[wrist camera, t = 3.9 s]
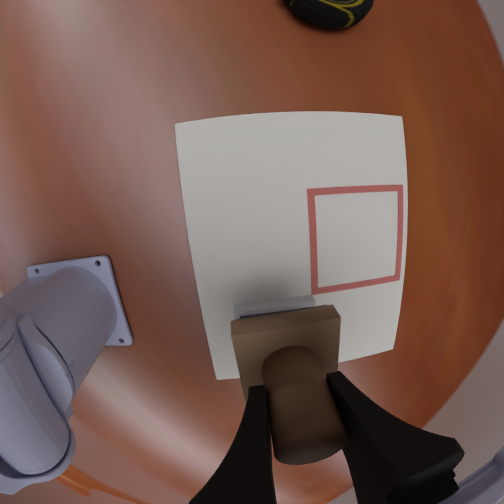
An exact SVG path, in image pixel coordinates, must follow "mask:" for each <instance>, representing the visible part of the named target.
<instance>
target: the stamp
mask: <svg viewBox="0 0 504 504" xmlns="http://www.w3.org/2000/svg"><path fill="white" fill-rule="evenodd" d="M340 327H341V316H340V315H339V313H338V312H337V310H336V309H335V307H334V305H333V304H332V305H327V304H326V305H321V306H316V307H310V308H304V309H299V310H293V311H287V312H281V313H274V314H268V315H261V316H254V317H247V318H240V319H235V320H233V321H231V339H232V343H233V348H234V352H235V357H236V362H237V366H238V370H239V375H240V379H241V384H242V388H243V392H244V396H245V401H246V403H247V398H248V388H249V387H250V386H257V385H264V386H265V392H266V399H267V406H268V417H269V423H270V430H271V436H272V443H273V449H274V456H275V458H276V459H277V460H278V461H279V462H281V463H284V464H290V465H302V464H309V463H313V462H317V461H320V460H323V459H325V458H328V457H330V456H332V455H334V454H335V453H337V452H338V451H339V450H341V449H342V448H343V447H344V446H345V444H346V443H347V440H348V436H347V433H346V431H345V428H344V425H343V423H342V420H341V417H340V415H339V412H338V410H337V407H336V404H335V402H334V399H333V397H332V394H331V392H330V389H329V386H328V384H327V381H326V374H327V373H332V372H336V371H337V369H338V357H339V344H340Z"/></svg>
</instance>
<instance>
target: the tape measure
mask: <svg viewBox="0 0 504 504" xmlns="http://www.w3.org/2000/svg"><path fill="white" fill-rule="evenodd" d="M285 1H286V3H287V5H288V6H289V8H290V9H291V10H292V12H293V13H294V14H296V15H297V16H298V17H300V18H302V19H303V20H305V21H307V22H309V23H312V24H314V25H317V26H321V27H325V28H333V29H338V28H339V29H346V28H349V27H352V26H354V25H356V24H357V23H359V22H360V21H361V20H362V19H363V18H364V17H365V16H366V15H367V14H368V12H369V11H370V9H371V7H372V6H373V1H374V0H285Z"/></svg>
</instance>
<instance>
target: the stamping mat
mask: <svg viewBox="0 0 504 504" xmlns="http://www.w3.org/2000/svg"><path fill="white" fill-rule="evenodd" d="M175 132H176V143H177V153H178V162H179V171H180V179H181V187H182V195H183V203H184V210H185V217H186V224H187V230H188V237H189V243H190V250H191V256H192V262H193V267H194V273H195V279H196V284H197V290H198V295H199V300H200V305H201V310H202V315H203V320H204V325H205V330H206V335H207V339H208V344H209V348H210V353H211V357H212V362H213V366H214V370H215V374H216V379H217V380H221V379H233V378H240V375H239V370H238V366H237V362H236V357H235V352H234V348H233V343H232V339H231V321H233V320H235V319H240V318H247V317H254V316H261V315H268V314H274V313H281V312H287V311H293V310H299V309H304V308H310V307H316V306H321V305H326V304H327V305H332V304H333V305H334V307H335V309H336V310H337V312H338V313H339V315H340V316H341V327H340V344H339V357H338V363H339V362H344V361H348V360H352V359H357V358H361V357H365V356H369V355H373V354H377V353H380V352H384V351H388V350H391V349H393V347H394V342H395V336H396V331H397V325H398V319H399V313H400V306H401V298H402V290H403V281H404V271H405V259H406V244H407V211H408V199H407V167H406V152H405V140H404V130H403V122H402V117H401V116H392V115H382V114H370V113H354V112H317V111H312V112H275V113H258V114H246V115H235V116H226V117H217V118H209V119H202V120H195V121H189V122H183V123H177V124H175Z"/></svg>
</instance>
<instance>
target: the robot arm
mask: <svg viewBox="0 0 504 504" xmlns="http://www.w3.org/2000/svg"><path fill="white" fill-rule="evenodd" d="M97 260H99V261H100V263H101V265H99V264H98V263H97ZM37 269H38V270H39V272H38V270H37ZM27 274H28V278H29V279H27V280H26V281H24V282H23V283H21V284H20V285H18V286H17V287H15V288H14V289H12V290H11V291H10V292H8V293H7V294H5V295H4V296H2V297H1V298H0V493H4V494H15V493H16V492H18V491H19V490H20V489H22V488H23V487H25V486H27V485H30V484H33V483H40V482H46V481H49V480H52V479H54V478H56V477H58V476H59V475H61V474H62V473H63V472H64V471H65V470H66V469H67V468H68V466H69V465H70V463H71V462H72V459H73V457H74V454H75V449H76V441H75V436H74V433H73V430H72V428H71V427H70V425H69V424H68V421H69V420H70V418H71V416H72V414H73V412H74V409H73V407H72V399H73V397H74V396H75V394H76V392H77V391H78V389H79V387H80V385H81V384H82V382H83V380H84V379H85V377H86V375H87V374H88V372H89V370H90V369H91V367H92V365H93V364H94V362H95V360H96V359H97V357H98V356H99V354H100V352H101V351H102V349H103V348H104V346H105V345H131V344H132V342H133V337H132V335H131V332H130V329H129V326H128V322H127V319H126V316H125V313H124V310H123V306H122V303H121V300H120V296H119V293H118V289H117V285H116V282H115V278H114V274H113V270H112V266H111V262H110V259H109V257H108V256H106V255H101V256H94V257H86V258H79V259H72V260H65V261H58V262H51V263H44V264H37V265H30V266H29V267H27ZM120 338H121V339H123V340H124V341H122V340H121V339H120ZM326 381H327V384H328V386H329V389H330V392H331V394H332V397H333V399H334V402H335V404H336V407H337V410H338V412H339V415H340V417H341V420H342V423H343V425H344V428H345V431H346V433H347V436H348V440H347V443H346V444H345V446H344V447H343V448H342V450H343V452H344V455H345V457H346V460H347V463H348V467H349V470H350V474H351V477H352V481H353V485H354V489H355V493H356V497H357V502H358V504H496V503H497V502H498V501H500V500H501V499H502V498H503V497H504V447H503V448H501V449H500V450H499V451H498V452H497V454H496V455H495V456H494V457H493V459H492V460H490V461H489V462H488V463H487V464H485V465H484V466H482V467H481V468H480V469H478V470H477V471H475V472H474V473H472V474H471V475H470V476H468V477H467V478H465V479H464V480H462V481H460V482H459V483H456V482H455V480H454V477H455V473H454V471H453V469H454V468H455V467H456V466H457V465H458V463H459V462H460V461H461V460H462V458H463V456H464V451H463V449H462V448H461V446H460V445H459V443H458V442H457V441H456V440H455V438H450V437H446V436H441V435H437V434H434V433H431V432H428V431H424V430H422V429H420V428H417V427H415V426H413V425H410V424H408V423H406V422H404V421H402V420H400V419H399V418H397V417H395V416H393V415H392V414H390V413H389V412H387V411H386V410H384V409H383V408H381V407H380V406H379V405H377V404H376V403H374V402H373V401H372V400H371V399H369V398H368V397H367V396H366V395H365V394H364V393H362V392H361V391H360V390H359V389H358V388H357V387H356V386H355V385H354V384H352V383H351V382H350V381H349V380H348V379H347V378H346V377H345V376H344V375H343V374H342V373H341V372H340V371H336V372H332V373H327V374H326ZM189 504H277V502H276V495H275V488H274V481H273V473H272V449H271V430H270V423H269V417H268V406H267V399H266V392H265V386H264V385H257V386H250V387H249V388H248V398H247V403H246V407H245V411H244V414H243V418H242V421H241V424H240V426H239V429H238V431H237V434H236V436H235V439H234V441H233V443H232V445H231V447H230V449H229V451H228V453H227V454H226V456H225V458H224V459H223V461H222V463H221V464H220V466H219V467H218V469H217V470H216V472H215V473H214V474H213V476H212V477H211V478H210V479H209V481H208V482H207V483H206V485H205V486H204V487H203V488H202V489H201V490H200V491H199V492H198V493H197V494H196V495H195V496H194V497H193V499H192V500H191V501H190V502H189Z"/></svg>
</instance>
